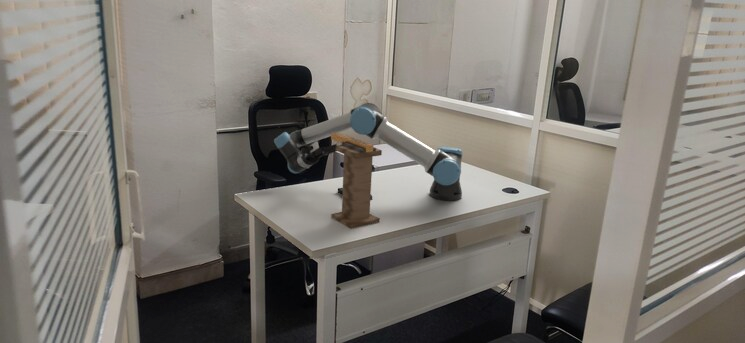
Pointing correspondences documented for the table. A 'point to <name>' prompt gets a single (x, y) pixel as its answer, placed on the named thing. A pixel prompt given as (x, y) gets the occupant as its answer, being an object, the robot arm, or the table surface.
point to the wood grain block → (352, 141)
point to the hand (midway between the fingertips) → (331, 142)
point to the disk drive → (340, 191)
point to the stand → (356, 186)
